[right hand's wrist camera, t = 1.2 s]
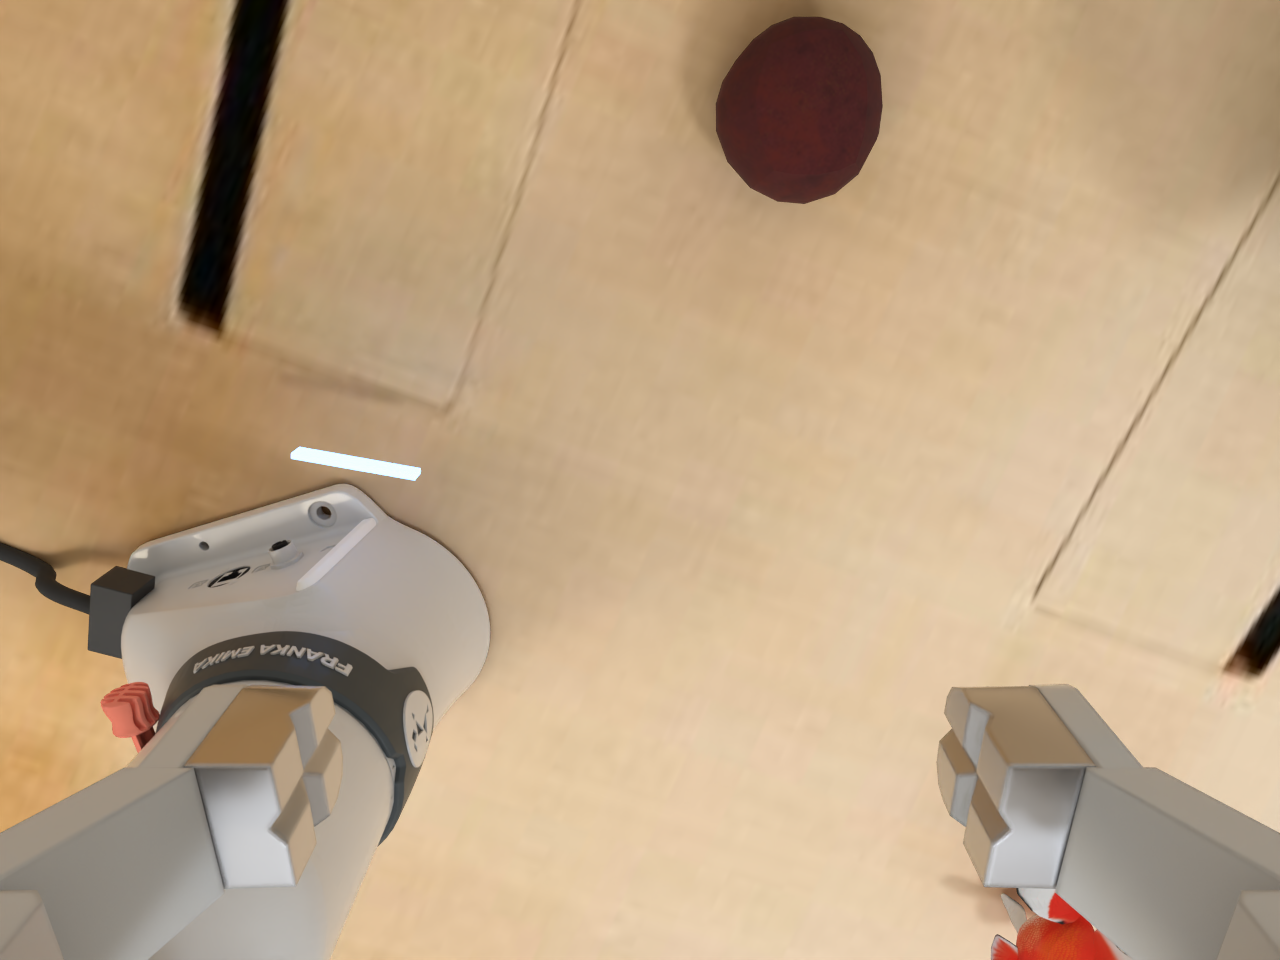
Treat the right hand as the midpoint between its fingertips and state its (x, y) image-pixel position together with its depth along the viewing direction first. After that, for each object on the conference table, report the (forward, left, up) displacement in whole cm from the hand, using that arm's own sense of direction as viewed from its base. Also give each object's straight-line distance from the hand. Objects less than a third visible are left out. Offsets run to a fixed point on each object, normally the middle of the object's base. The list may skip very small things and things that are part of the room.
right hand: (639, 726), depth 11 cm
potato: (+7, +8, -35) cm, 37 cm away
